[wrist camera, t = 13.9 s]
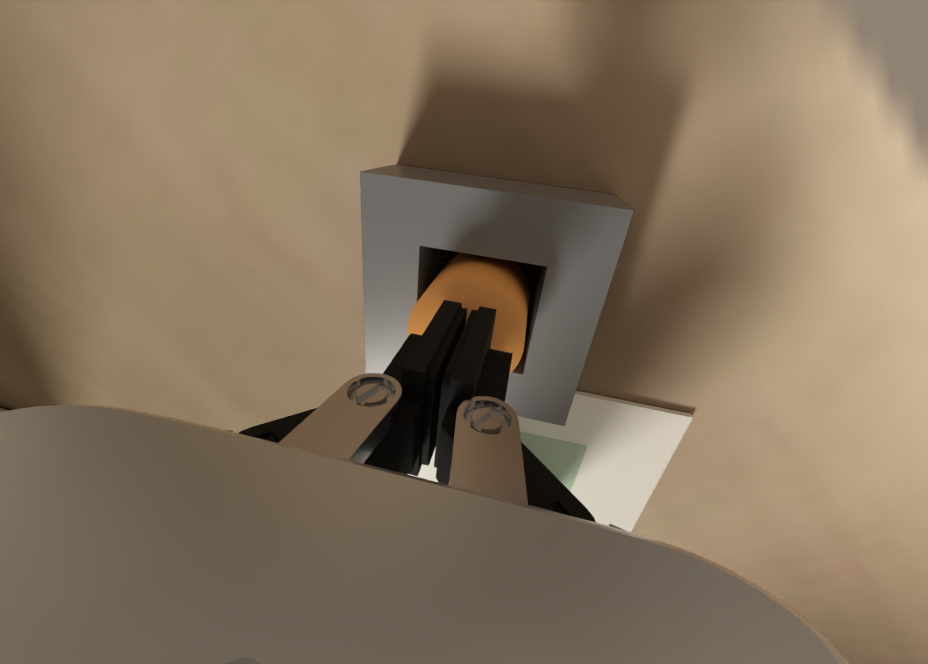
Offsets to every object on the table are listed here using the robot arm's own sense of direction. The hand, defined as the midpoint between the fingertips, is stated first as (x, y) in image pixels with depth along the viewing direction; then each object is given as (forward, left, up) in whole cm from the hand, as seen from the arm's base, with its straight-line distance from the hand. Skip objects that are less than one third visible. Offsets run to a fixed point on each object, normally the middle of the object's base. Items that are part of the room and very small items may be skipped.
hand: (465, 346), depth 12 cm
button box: (0, 0, -6) cm, 6 cm away
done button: (0, 0, -5) cm, 5 cm away
